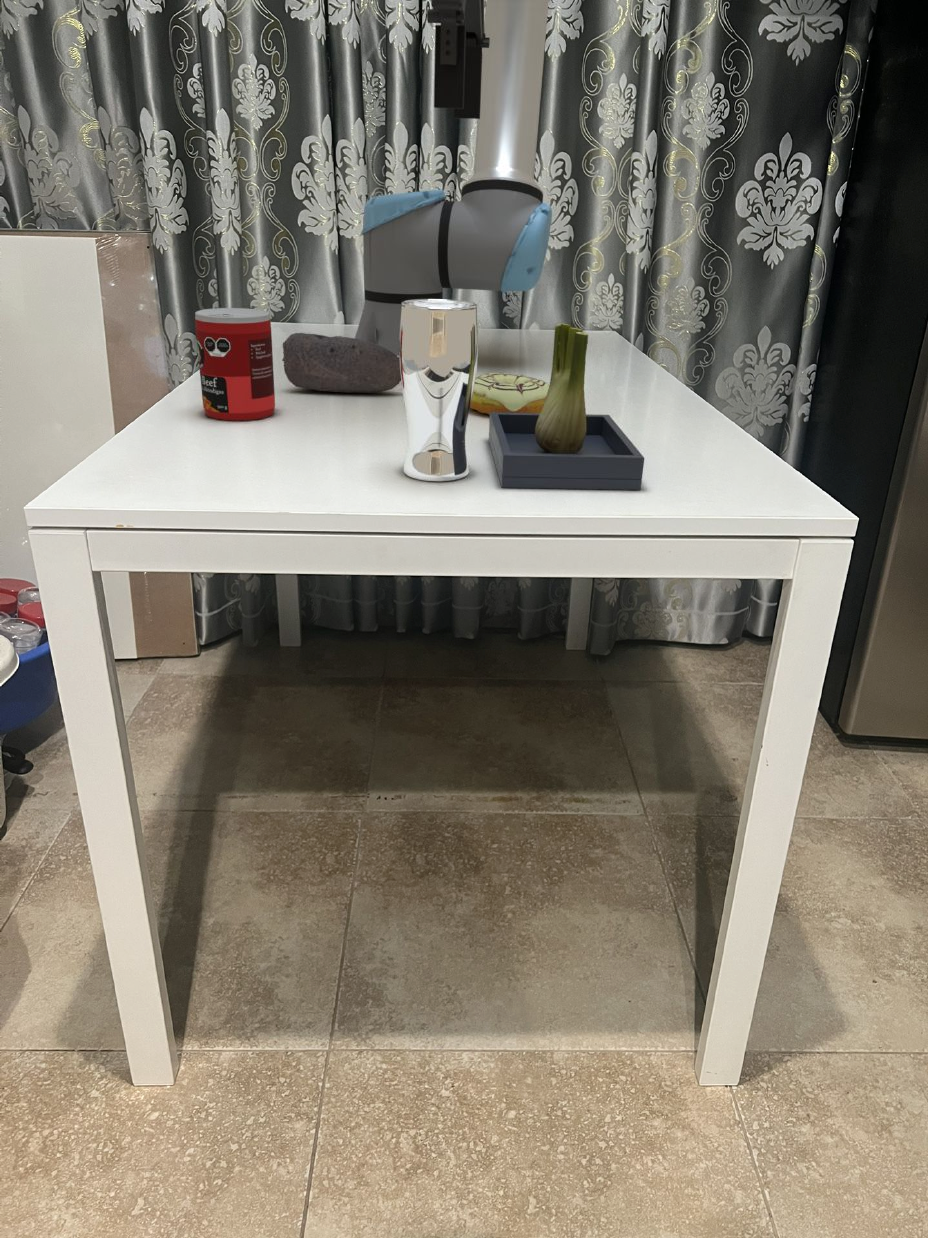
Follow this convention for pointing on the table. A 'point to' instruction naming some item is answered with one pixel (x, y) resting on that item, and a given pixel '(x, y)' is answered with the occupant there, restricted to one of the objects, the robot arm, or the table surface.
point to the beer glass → (437, 384)
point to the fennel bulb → (565, 395)
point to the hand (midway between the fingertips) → (458, 113)
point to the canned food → (235, 363)
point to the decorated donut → (508, 393)
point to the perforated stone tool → (339, 364)
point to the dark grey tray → (564, 456)
